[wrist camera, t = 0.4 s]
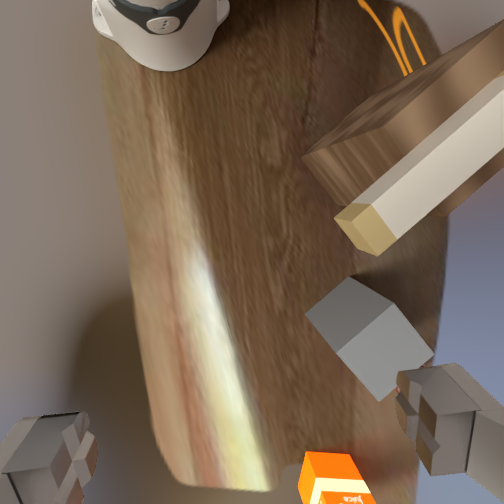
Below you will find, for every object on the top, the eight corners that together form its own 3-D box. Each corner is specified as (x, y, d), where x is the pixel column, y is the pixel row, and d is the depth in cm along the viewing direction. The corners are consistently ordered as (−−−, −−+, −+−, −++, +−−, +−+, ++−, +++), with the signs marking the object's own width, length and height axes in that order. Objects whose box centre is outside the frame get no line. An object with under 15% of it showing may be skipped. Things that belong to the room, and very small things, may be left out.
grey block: (338, 352, 61) (378, 401, 47) (304, 314, 59) (335, 353, 44) (381, 316, 61) (434, 354, 46) (348, 276, 58) (394, 303, 44)
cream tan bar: (357, 248, 30) (377, 256, 27) (333, 218, 29) (351, 221, 26) (531, 98, 30) (574, 86, 26) (511, 63, 29) (553, 45, 25)
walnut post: (336, 205, 56) (445, 216, 31) (299, 157, 54) (383, 126, 28) (401, 149, 56) (564, 113, 30) (366, 98, 54) (511, 14, 28)
